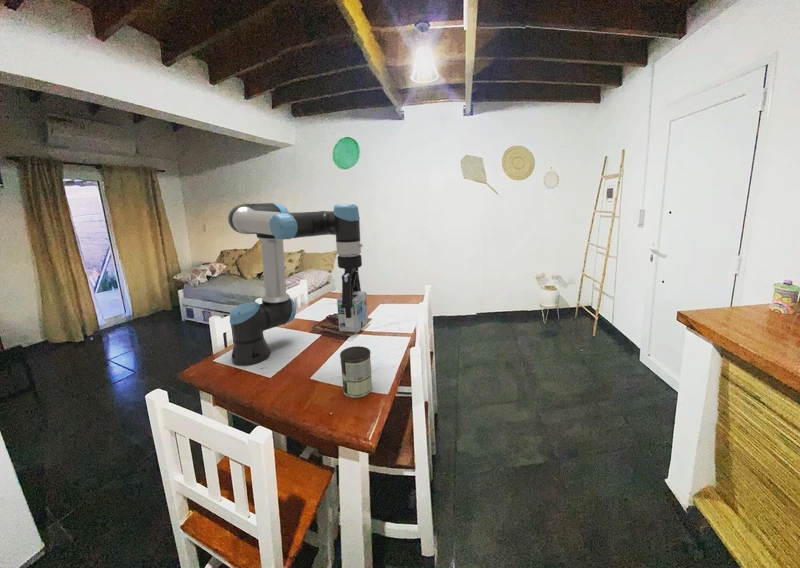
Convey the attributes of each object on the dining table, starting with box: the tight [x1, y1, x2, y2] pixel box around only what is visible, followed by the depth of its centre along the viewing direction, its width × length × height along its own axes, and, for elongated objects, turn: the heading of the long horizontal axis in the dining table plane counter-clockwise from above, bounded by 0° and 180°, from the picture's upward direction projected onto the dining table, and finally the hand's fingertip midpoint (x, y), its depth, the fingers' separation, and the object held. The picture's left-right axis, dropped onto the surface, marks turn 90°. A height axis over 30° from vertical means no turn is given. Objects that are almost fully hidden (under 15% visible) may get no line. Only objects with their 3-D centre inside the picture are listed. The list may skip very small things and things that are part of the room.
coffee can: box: [339, 345, 373, 399], centre depth 108 cm, size 10×10×14 cm
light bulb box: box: [336, 290, 369, 333], centre depth 103 cm, size 11×7×11 cm, turn 168°
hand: (353, 320), depth 104 cm, fingers closed on light bulb box, 11 cm apart
